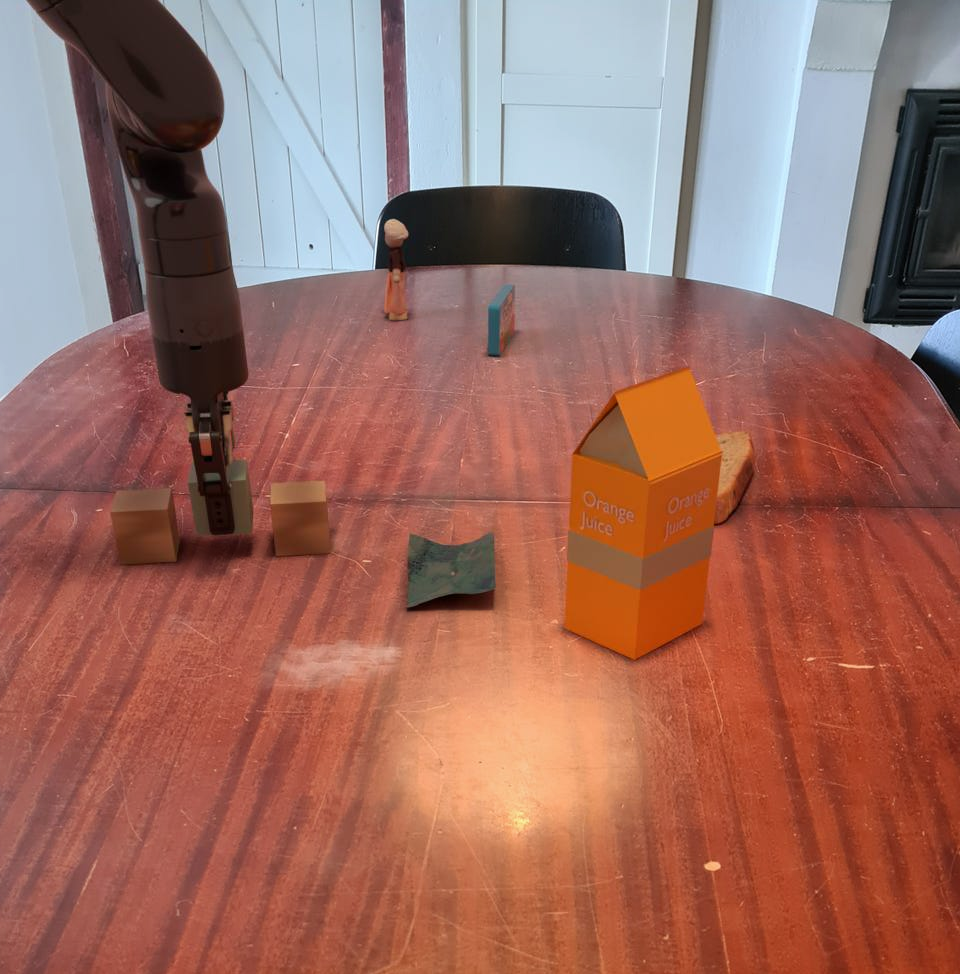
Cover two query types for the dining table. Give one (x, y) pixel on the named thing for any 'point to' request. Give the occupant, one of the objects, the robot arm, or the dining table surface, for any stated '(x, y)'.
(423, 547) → the terrain model
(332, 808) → the dining table surface
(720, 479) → the bread slice
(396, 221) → the grandmother figurine
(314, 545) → the beech block right
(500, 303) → the teal flat box
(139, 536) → the beech block left
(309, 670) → the dining table surface
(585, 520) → the orange juice
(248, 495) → the sage block
